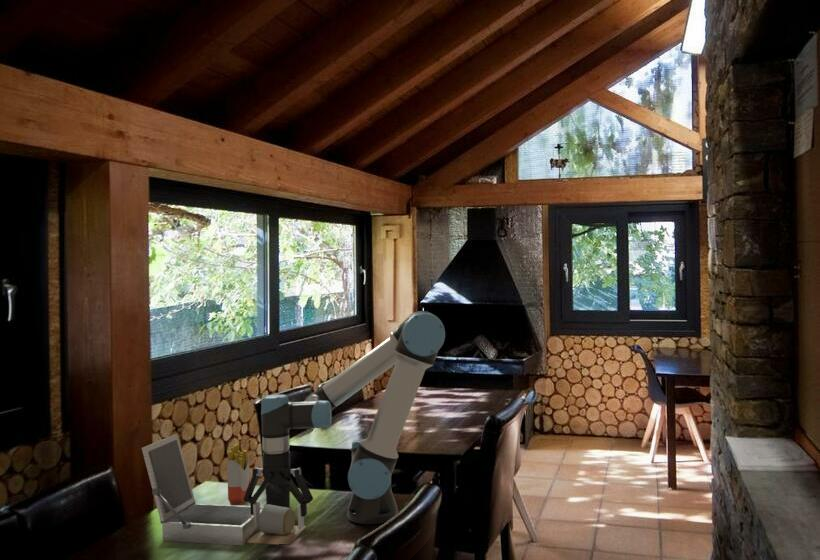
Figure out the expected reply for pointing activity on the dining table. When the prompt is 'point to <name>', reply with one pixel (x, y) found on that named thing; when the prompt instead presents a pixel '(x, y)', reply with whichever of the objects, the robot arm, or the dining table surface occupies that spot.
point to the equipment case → (190, 502)
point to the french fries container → (237, 474)
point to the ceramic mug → (276, 520)
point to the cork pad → (276, 537)
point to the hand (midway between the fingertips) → (279, 527)
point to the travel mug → (278, 495)
